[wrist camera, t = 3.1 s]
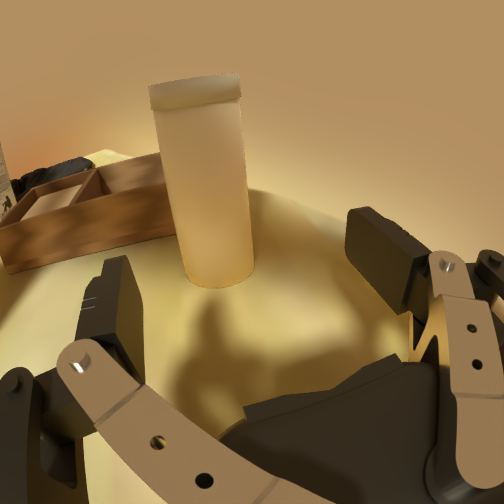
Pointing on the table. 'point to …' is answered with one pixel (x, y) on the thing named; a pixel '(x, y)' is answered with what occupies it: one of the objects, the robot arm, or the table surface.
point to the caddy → (87, 214)
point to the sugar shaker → (206, 176)
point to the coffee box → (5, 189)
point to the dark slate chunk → (48, 175)
